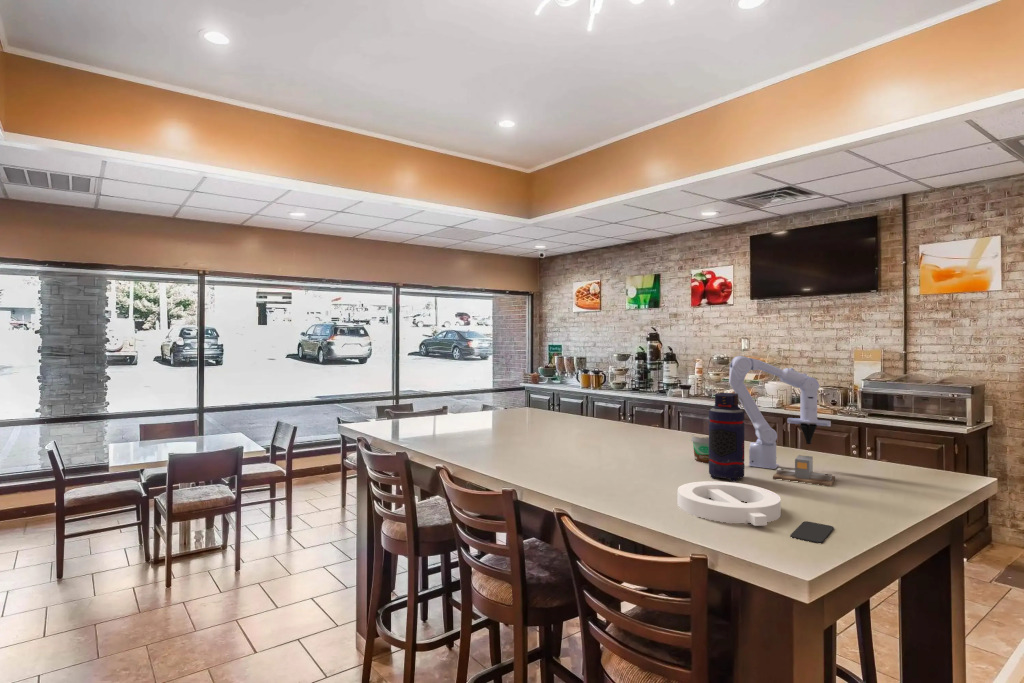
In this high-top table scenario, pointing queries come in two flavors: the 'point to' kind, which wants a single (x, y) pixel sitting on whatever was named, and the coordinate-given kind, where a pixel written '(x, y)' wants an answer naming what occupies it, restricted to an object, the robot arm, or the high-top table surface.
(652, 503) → the high-top table surface
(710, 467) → the navy bottle
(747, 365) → the robot arm
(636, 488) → the high-top table surface
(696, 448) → the food container
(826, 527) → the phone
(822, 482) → the rail board
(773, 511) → the ring with crossbar
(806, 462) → the block
